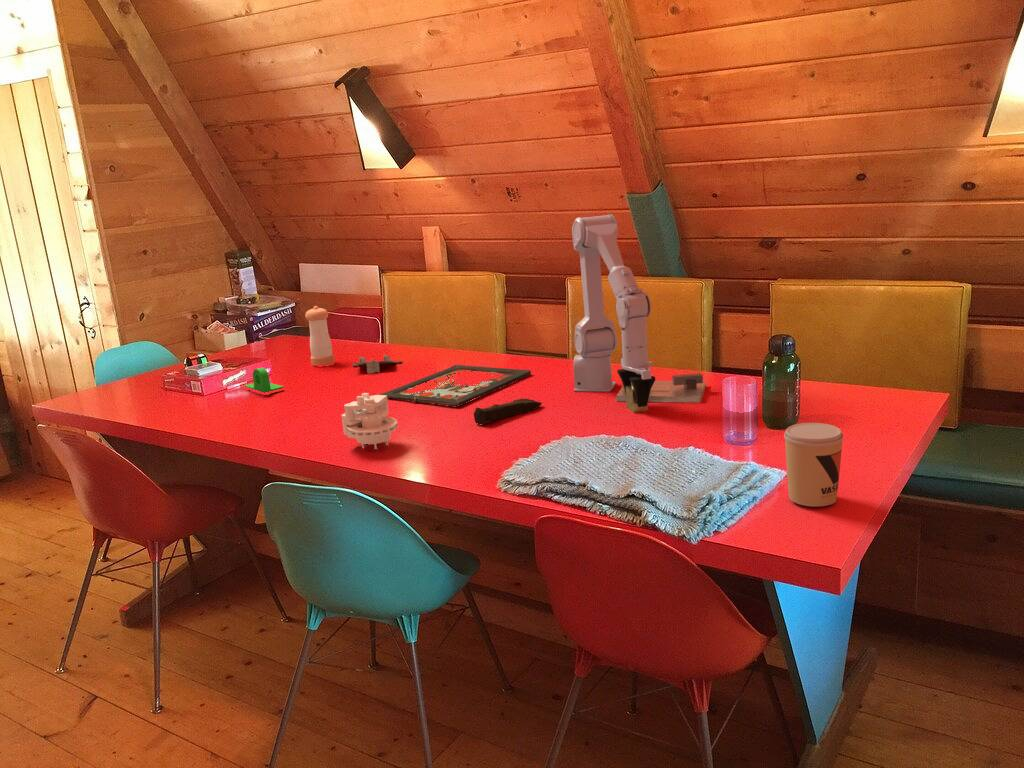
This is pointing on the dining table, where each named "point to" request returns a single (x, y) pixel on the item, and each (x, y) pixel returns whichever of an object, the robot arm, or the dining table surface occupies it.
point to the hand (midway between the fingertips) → (636, 402)
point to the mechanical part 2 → (368, 420)
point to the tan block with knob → (633, 401)
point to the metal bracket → (374, 363)
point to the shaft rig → (674, 390)
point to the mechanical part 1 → (262, 381)
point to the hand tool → (504, 410)
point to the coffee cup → (813, 463)
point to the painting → (453, 393)
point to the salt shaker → (319, 337)
